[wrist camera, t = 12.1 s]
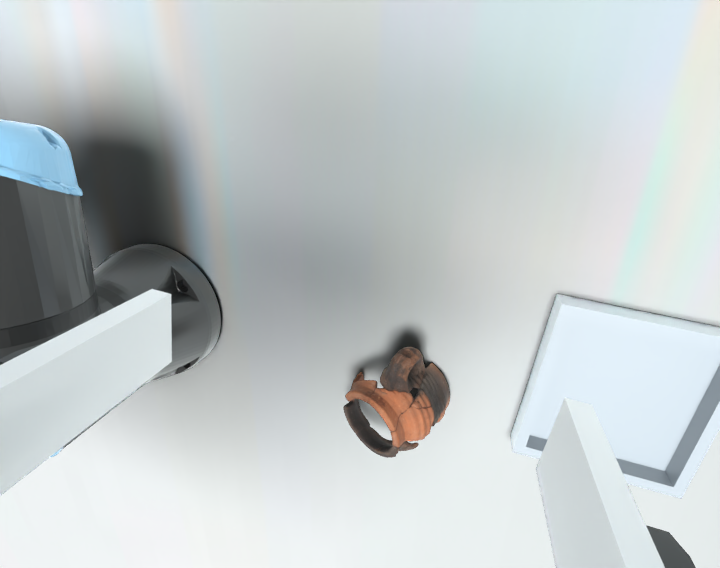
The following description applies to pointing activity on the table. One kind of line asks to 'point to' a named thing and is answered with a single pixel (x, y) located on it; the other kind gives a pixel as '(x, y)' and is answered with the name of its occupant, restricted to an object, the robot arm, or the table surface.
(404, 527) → the table surface
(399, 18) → the table surface
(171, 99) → the table surface
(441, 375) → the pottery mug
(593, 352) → the tray
